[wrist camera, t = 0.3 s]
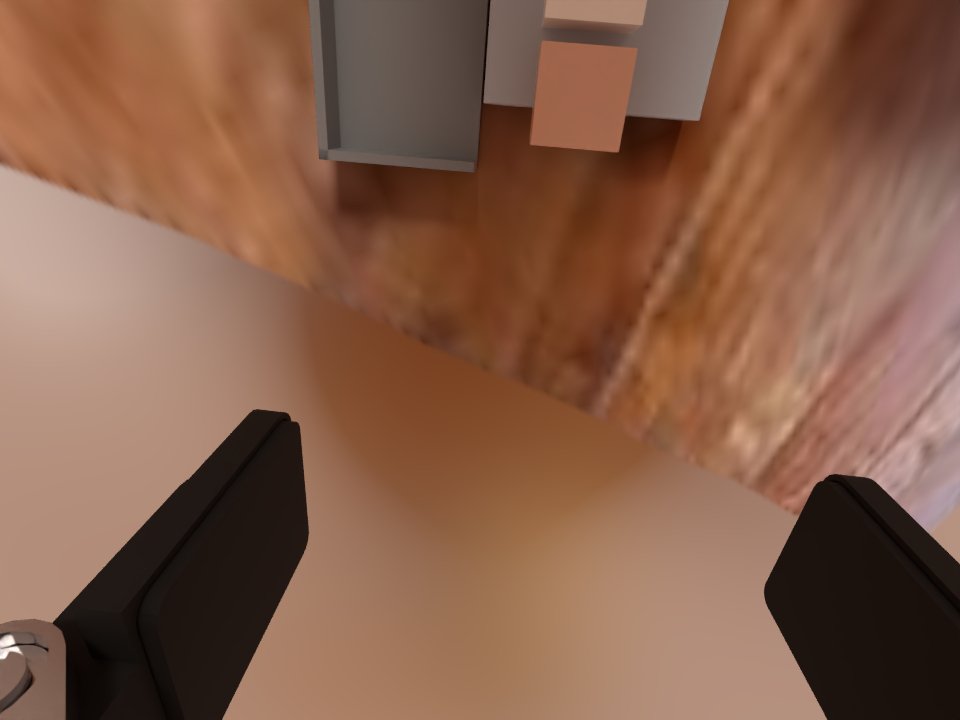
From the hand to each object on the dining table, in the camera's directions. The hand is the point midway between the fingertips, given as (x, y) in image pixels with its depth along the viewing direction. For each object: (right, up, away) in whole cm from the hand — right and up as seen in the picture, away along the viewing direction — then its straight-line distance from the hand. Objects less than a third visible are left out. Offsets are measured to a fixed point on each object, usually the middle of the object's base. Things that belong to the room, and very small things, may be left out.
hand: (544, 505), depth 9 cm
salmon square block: (+4, +18, +20) cm, 27 cm away
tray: (-6, +23, +22) cm, 32 cm away
